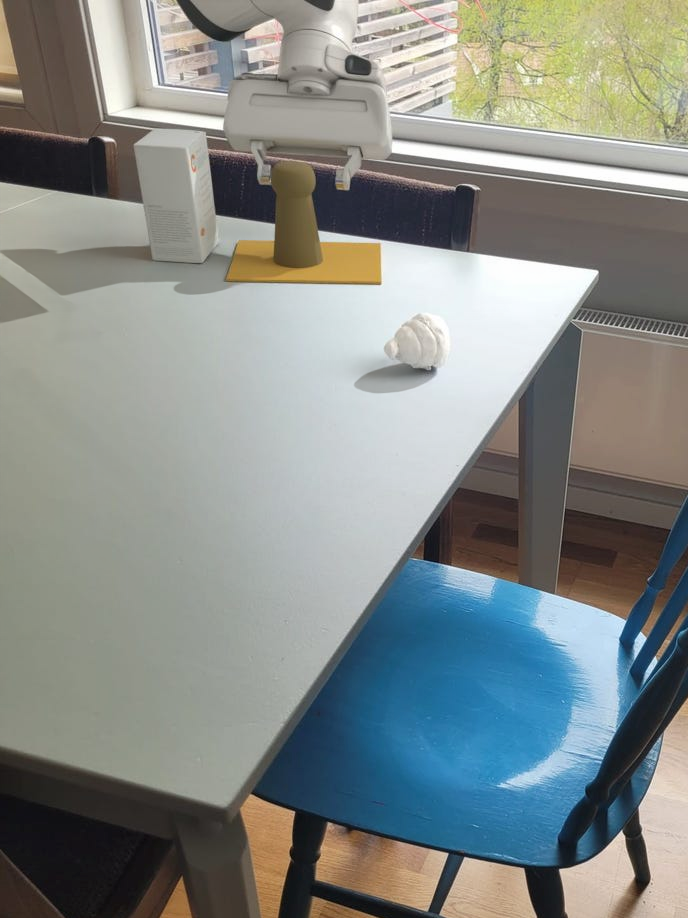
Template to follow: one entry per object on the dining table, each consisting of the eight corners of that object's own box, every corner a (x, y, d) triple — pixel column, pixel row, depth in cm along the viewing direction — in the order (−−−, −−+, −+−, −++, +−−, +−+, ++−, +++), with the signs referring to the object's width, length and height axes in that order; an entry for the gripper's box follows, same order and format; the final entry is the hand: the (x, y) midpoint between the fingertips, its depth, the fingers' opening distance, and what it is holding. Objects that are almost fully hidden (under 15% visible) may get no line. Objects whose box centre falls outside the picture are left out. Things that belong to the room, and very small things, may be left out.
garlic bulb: (373, 366, 100) (372, 312, 96) (424, 354, 102) (425, 302, 99) (400, 387, 96) (400, 332, 93) (452, 374, 99) (454, 321, 96)
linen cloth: (226, 281, 116) (226, 278, 116) (238, 242, 127) (238, 239, 126) (381, 284, 117) (381, 281, 117) (380, 245, 128) (380, 243, 128)
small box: (170, 239, 126) (154, 126, 118) (220, 243, 126) (207, 130, 118) (150, 261, 120) (131, 143, 112) (202, 264, 120) (187, 147, 111)
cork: (264, 256, 122) (255, 160, 115) (306, 248, 125) (300, 153, 118) (290, 271, 118) (283, 172, 112) (332, 262, 122) (328, 165, 115)
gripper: (223, 54, 118) (210, 164, 117) (393, 65, 117) (382, 175, 116) (237, 89, 124) (225, 193, 123) (399, 99, 124) (389, 204, 122)
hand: (303, 185), depth 120 cm, fingers open, 8 cm apart
